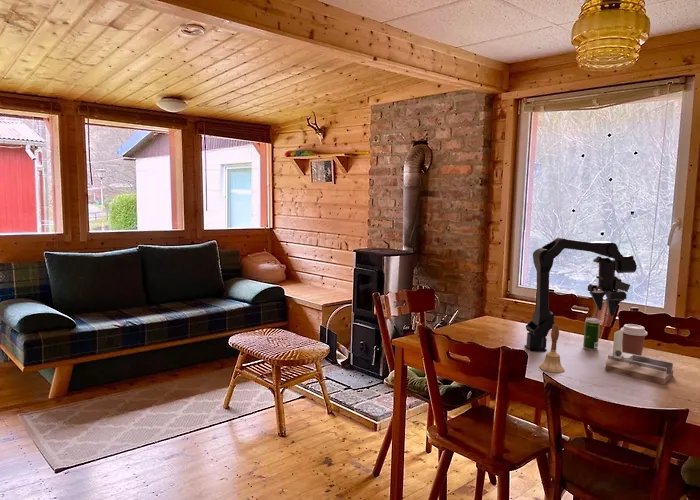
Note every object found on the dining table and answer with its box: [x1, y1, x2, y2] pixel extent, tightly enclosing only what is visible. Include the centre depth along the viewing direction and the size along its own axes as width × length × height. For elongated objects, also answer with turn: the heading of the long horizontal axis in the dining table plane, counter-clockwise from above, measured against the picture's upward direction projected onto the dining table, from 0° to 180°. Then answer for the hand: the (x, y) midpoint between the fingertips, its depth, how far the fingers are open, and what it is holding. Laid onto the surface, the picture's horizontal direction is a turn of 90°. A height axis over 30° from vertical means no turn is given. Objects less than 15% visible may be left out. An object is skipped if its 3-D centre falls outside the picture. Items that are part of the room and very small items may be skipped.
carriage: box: [611, 329, 633, 360], centre depth 181 cm, size 5×9×11 cm, turn 136°
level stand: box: [604, 351, 674, 385], centre depth 179 cm, size 18×12×5 cm, turn 46°
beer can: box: [582, 317, 601, 351], centre depth 206 cm, size 5×5×12 cm
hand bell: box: [538, 323, 565, 374], centre depth 180 cm, size 8×8×16 cm
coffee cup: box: [619, 323, 648, 356], centre depth 196 cm, size 9×9×12 cm
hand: (605, 312), depth 204 cm, fingers open, 9 cm apart
